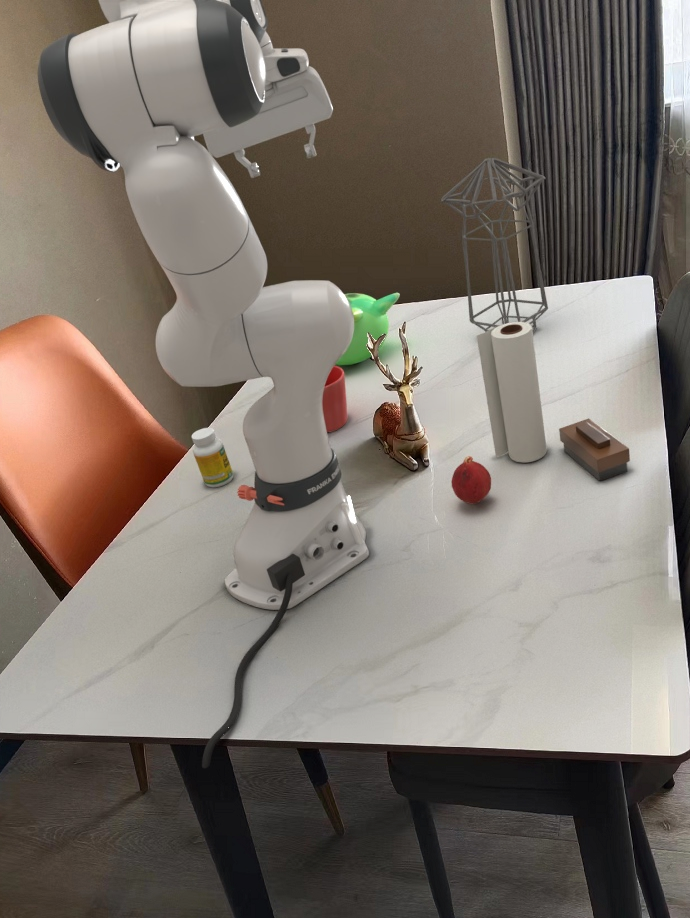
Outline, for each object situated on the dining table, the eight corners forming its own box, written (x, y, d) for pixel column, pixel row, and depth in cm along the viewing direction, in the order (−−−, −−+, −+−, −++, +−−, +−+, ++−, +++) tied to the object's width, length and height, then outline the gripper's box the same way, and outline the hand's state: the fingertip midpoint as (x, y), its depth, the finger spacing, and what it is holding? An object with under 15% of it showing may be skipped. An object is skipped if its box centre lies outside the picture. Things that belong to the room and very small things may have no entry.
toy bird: (353, 339, 196) (337, 277, 188) (413, 344, 187) (399, 278, 179) (303, 374, 186) (285, 309, 178) (364, 381, 176) (347, 312, 168)
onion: (483, 516, 126) (475, 470, 121) (449, 511, 129) (440, 465, 124) (500, 495, 129) (493, 449, 125) (467, 490, 132) (458, 445, 128)
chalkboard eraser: (561, 450, 136) (558, 422, 134) (590, 440, 137) (588, 412, 134) (599, 483, 127) (596, 453, 124) (630, 471, 127) (628, 442, 125)
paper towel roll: (554, 448, 137) (540, 322, 126) (532, 467, 134) (515, 339, 123) (517, 440, 142) (500, 317, 130) (495, 457, 139) (476, 333, 127)
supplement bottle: (204, 477, 155) (187, 431, 150) (233, 469, 155) (216, 422, 150) (205, 491, 150) (187, 443, 145) (235, 482, 151) (218, 435, 146)
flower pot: (331, 441, 156) (318, 393, 151) (288, 433, 163) (274, 387, 157) (366, 414, 162) (355, 367, 157) (324, 408, 169) (311, 362, 164)
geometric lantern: (460, 345, 181) (430, 172, 162) (505, 316, 189) (482, 148, 170) (520, 354, 170) (496, 170, 151) (565, 323, 178) (548, 145, 159)
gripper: (183, 100, 126) (221, 193, 134) (314, 52, 124) (345, 150, 132) (187, 92, 131) (223, 182, 139) (314, 46, 129) (343, 140, 137)
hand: (284, 166), depth 136 cm, fingers open, 8 cm apart
